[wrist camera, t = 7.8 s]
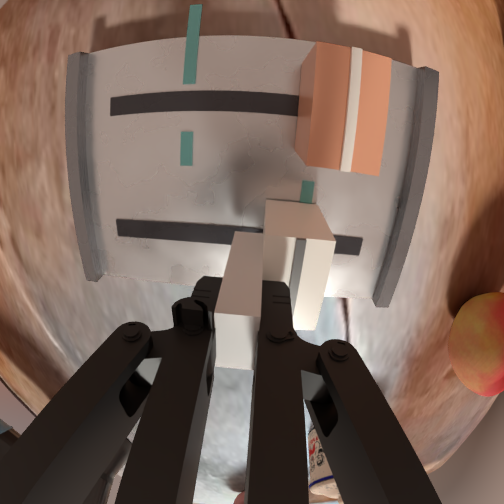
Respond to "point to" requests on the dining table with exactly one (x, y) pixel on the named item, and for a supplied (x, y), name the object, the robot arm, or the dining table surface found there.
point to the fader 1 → (298, 256)
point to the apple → (479, 344)
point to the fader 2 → (343, 108)
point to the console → (229, 160)
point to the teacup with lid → (321, 470)
